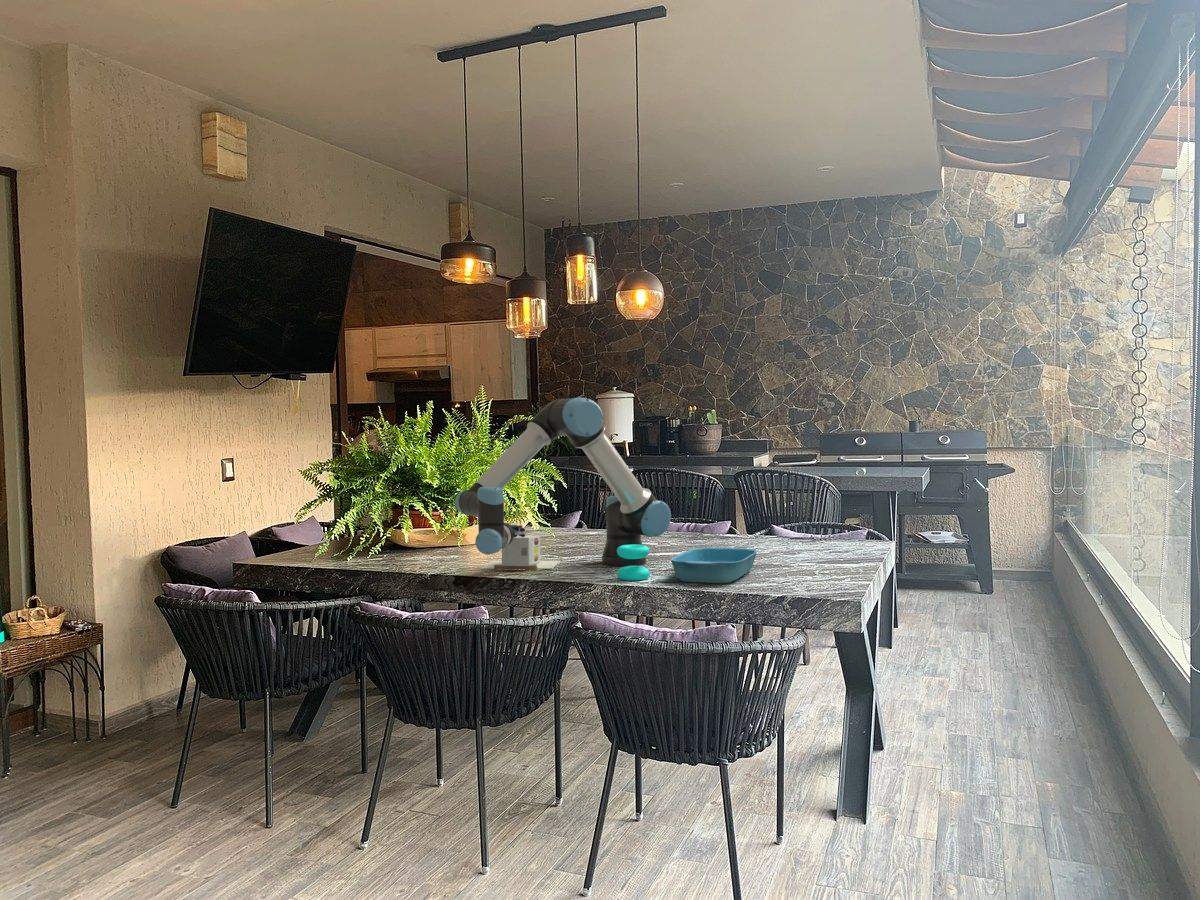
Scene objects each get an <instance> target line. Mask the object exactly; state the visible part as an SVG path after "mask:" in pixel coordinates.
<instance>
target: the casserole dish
mask: <svg viewBox="0 0 1200 900" xmlns="http://www.w3.org/2000/svg"><path fill="white" fill-rule="evenodd" d="M757 552H758V550H756V549H754V548H745V547H744V548H743V547H728V546H727V547H720V546H717V547H715V546H713V547H712V546H711V547H710V546H709V547H698V548H696V547H695V548H691V549H688V550H686V551H684V552H681V553H679V554H677V555H674V556H673V557H671V558H670V561H671V564H672V568H673V571H674V574H675V575H676V577H677V578H678V579H679V580H680V581H682V582H685V583H687V582H688V583H705V584H728V583H729V584H730V583H732V582H735V581H736V580H739V579H740V578H741V577H743V576H745V575H746V574H748V573H749V572H750V571H751V570H752V568H753V566H754V563H755V560H756V556H757ZM744 574H745V575H744Z"/></svg>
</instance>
